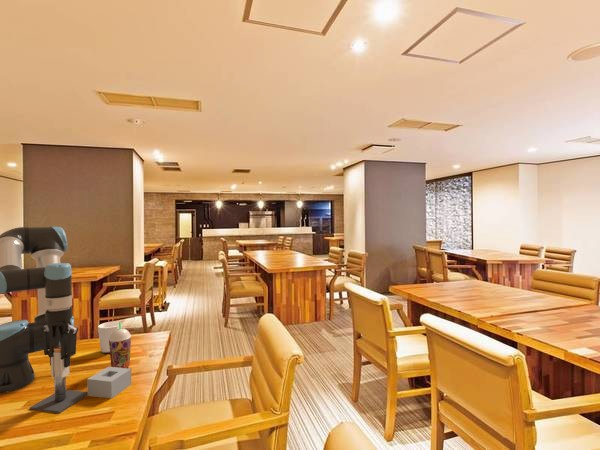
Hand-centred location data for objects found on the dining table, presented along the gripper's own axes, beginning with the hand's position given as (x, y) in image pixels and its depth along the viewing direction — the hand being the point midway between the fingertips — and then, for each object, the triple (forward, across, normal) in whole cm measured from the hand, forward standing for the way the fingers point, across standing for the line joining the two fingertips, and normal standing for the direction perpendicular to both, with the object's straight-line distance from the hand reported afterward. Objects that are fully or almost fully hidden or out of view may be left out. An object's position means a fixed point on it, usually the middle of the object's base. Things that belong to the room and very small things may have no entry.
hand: (60, 375), depth 115 cm
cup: (+9, -16, +41) cm, 45 cm away
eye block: (+9, +11, +10) cm, 17 cm away
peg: (+8, 0, 0) cm, 8 cm away
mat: (+9, 0, 0) cm, 9 cm away
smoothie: (+9, +3, +25) cm, 27 cm away
